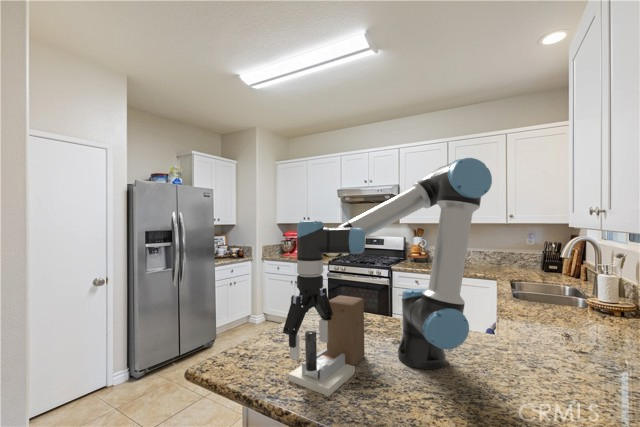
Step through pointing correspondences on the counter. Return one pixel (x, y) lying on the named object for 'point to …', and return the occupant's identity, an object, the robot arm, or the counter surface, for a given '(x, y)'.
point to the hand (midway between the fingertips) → (310, 349)
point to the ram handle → (313, 356)
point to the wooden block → (346, 329)
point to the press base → (324, 375)
